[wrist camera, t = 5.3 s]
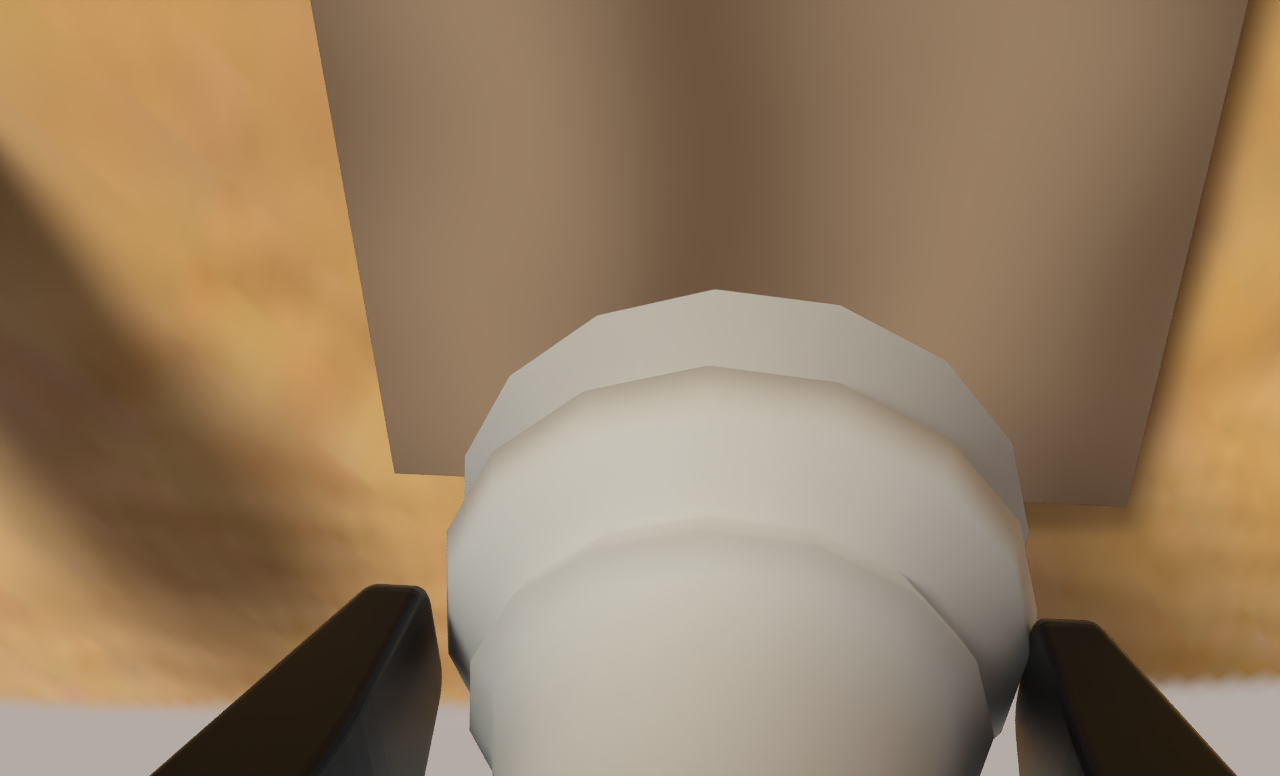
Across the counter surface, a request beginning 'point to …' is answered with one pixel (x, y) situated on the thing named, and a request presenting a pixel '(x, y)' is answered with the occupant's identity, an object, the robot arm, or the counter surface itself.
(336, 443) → the counter surface
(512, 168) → the walnut block
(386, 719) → the robot arm
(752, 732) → the rook chess piece
